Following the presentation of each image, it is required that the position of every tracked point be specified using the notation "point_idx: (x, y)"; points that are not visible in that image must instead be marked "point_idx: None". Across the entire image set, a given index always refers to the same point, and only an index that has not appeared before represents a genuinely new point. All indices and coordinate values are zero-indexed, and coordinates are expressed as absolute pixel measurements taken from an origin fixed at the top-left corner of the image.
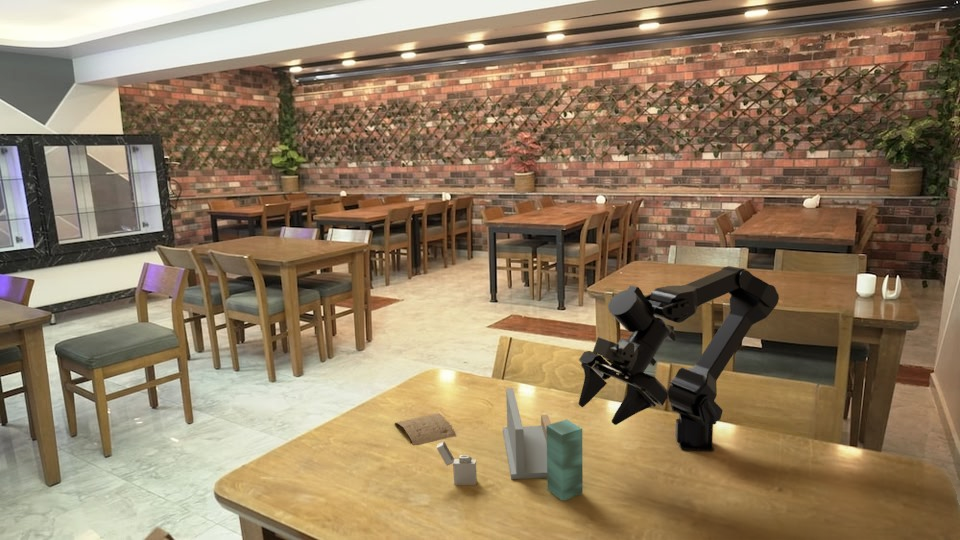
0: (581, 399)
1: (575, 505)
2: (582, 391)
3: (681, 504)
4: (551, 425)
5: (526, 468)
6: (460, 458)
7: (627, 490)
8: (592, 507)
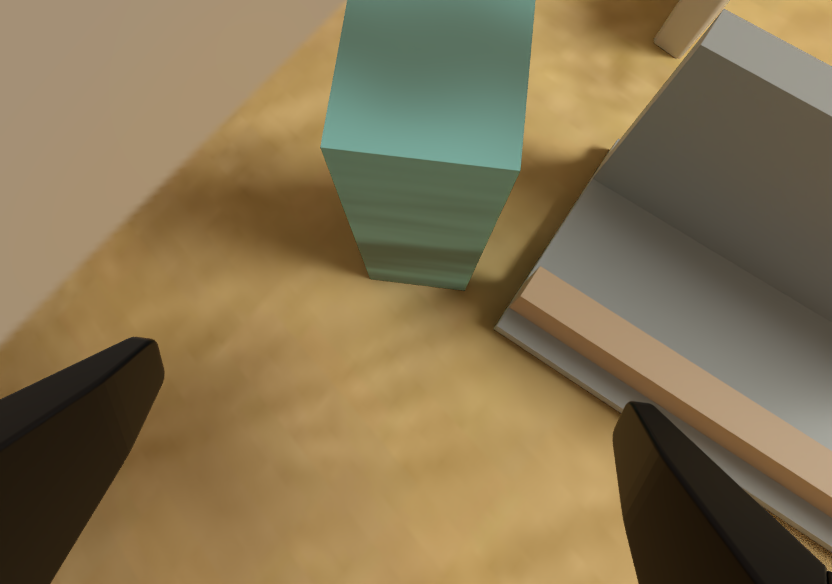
0: (657, 434)
1: (334, 206)
2: (748, 506)
3: None
4: (511, 23)
5: (620, 209)
6: None
7: (267, 429)
8: (285, 241)
